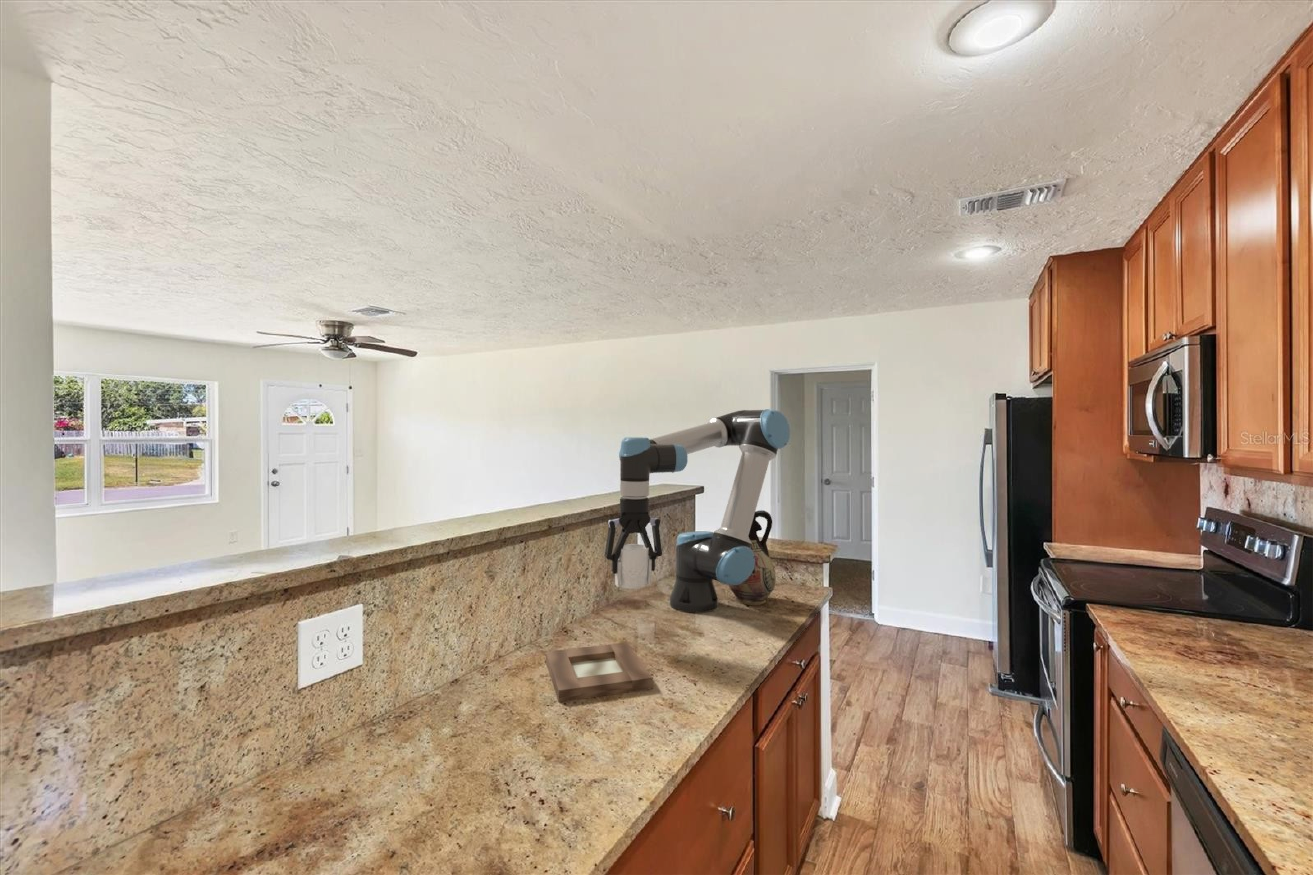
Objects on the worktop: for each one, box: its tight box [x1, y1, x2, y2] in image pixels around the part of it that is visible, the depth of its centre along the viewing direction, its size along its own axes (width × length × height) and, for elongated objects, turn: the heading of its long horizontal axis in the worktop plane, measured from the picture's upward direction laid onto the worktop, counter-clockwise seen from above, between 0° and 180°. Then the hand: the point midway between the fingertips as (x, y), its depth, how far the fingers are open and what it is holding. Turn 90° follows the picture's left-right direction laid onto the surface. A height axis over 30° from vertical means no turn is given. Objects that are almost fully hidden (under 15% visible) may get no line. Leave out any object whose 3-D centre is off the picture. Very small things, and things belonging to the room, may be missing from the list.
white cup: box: [618, 543, 649, 590], centre depth 143 cm, size 8×8×10 cm
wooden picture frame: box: [545, 642, 654, 703], centre depth 124 cm, size 20×20×2 cm
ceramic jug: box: [728, 509, 777, 606], centre depth 178 cm, size 17×15×30 cm
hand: (633, 584), depth 143 cm, fingers closed on white cup, 7 cm apart
